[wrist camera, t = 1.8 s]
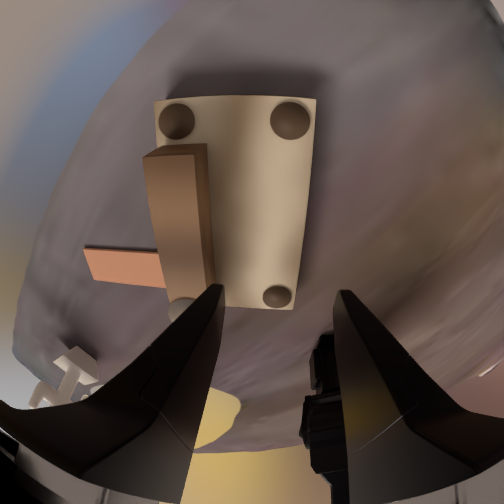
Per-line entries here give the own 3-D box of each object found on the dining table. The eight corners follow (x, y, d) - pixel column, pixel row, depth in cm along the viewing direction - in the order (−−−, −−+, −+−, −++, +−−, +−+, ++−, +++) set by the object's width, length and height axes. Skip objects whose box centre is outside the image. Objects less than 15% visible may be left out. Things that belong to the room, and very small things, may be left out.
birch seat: (311, 98, 15) (316, 99, 14) (291, 294, 25) (292, 311, 23) (165, 99, 16) (152, 101, 14) (187, 287, 26) (180, 303, 24)
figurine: (95, 373, 41) (69, 438, 28) (56, 343, 37) (23, 408, 25) (111, 367, 38) (82, 442, 26) (67, 333, 34) (29, 408, 22)
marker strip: (175, 253, 23) (174, 254, 23) (182, 287, 26) (181, 289, 25) (84, 247, 24) (83, 249, 24) (95, 278, 26) (94, 279, 26)
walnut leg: (221, 306, 23) (215, 334, 21) (182, 303, 24) (172, 329, 21) (211, 143, 16) (198, 155, 13) (158, 145, 16) (136, 158, 13)
